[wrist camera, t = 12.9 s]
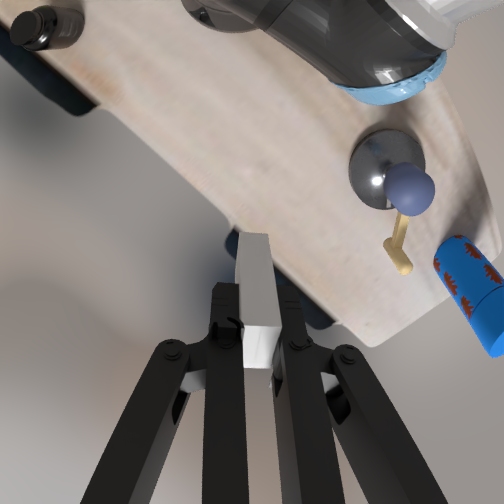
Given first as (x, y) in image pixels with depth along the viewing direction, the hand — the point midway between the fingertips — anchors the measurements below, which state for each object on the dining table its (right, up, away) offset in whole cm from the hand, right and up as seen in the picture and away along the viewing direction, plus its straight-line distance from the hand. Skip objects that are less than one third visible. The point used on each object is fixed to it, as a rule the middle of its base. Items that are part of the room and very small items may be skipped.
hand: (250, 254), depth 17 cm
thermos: (+44, 0, +42) cm, 61 cm away
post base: (+23, +14, +31) cm, 41 cm away
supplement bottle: (-28, +34, +15) cm, 47 cm away
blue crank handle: (+23, +7, +28) cm, 37 cm away
